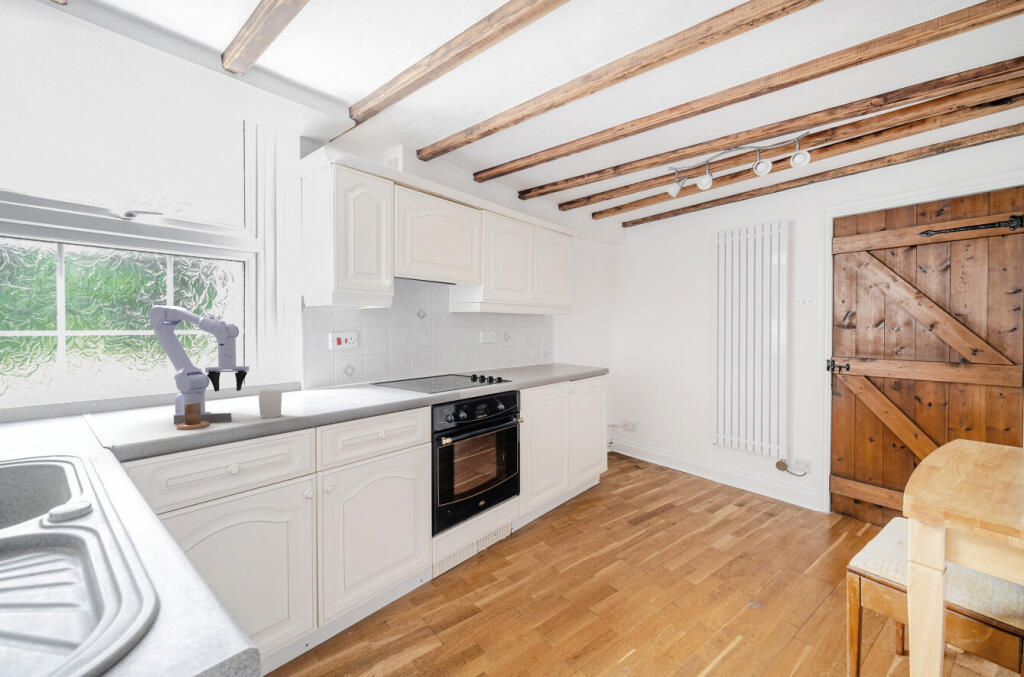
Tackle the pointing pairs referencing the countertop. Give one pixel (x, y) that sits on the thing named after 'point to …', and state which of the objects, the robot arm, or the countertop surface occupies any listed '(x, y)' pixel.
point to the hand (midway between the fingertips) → (227, 390)
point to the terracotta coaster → (192, 426)
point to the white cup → (270, 403)
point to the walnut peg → (192, 413)
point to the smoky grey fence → (206, 418)
